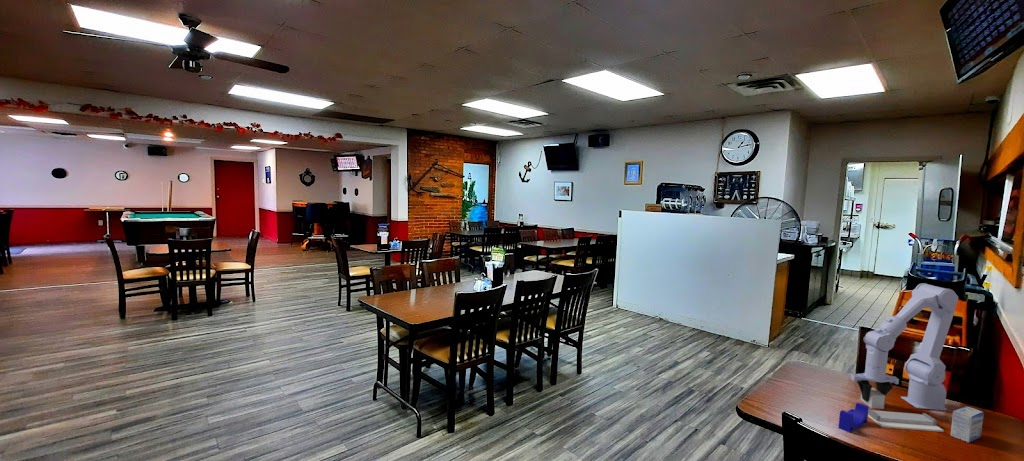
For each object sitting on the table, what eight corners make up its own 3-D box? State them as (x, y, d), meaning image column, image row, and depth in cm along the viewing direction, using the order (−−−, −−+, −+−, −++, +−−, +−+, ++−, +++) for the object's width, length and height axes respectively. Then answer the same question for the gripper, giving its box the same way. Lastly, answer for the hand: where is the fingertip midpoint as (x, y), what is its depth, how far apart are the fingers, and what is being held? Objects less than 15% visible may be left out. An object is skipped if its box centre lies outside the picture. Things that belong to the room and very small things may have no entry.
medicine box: (968, 443, 132) (972, 417, 131) (949, 435, 136) (952, 410, 135) (981, 437, 135) (984, 411, 134) (961, 430, 139) (965, 405, 138)
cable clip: (851, 417, 147) (852, 400, 146) (867, 423, 143) (868, 406, 142) (833, 426, 141) (834, 409, 141) (849, 433, 137) (850, 415, 137)
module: (872, 400, 158) (873, 387, 157) (883, 409, 152) (885, 395, 151) (860, 399, 158) (861, 386, 158) (871, 408, 153) (872, 394, 152)
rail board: (918, 415, 148) (919, 409, 148) (943, 432, 138) (944, 425, 138) (861, 411, 150) (862, 404, 150) (882, 427, 140) (882, 420, 140)
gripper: (890, 361, 157) (886, 396, 158) (846, 359, 159) (843, 393, 160) (904, 369, 150) (900, 406, 151) (859, 367, 152) (855, 403, 153)
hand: (872, 400), depth 155 cm, fingers closed on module, 4 cm apart
